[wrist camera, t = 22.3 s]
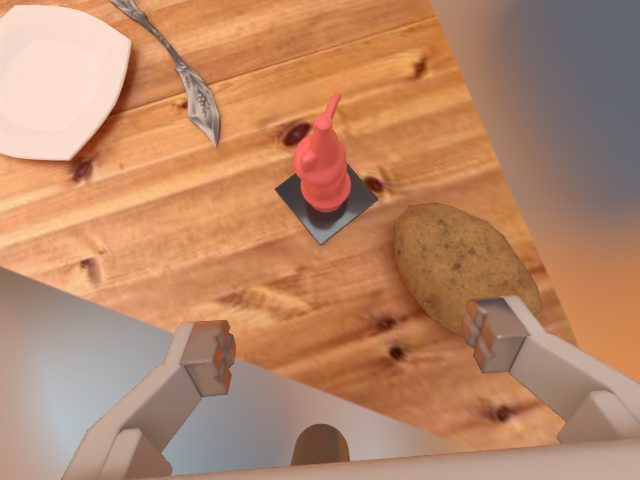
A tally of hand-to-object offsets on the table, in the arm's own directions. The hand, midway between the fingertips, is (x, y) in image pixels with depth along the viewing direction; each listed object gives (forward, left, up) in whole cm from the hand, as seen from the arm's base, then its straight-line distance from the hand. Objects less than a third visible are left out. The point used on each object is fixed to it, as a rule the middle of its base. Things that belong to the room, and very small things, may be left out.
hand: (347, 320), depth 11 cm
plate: (-10, +41, -22) cm, 47 cm away
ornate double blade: (+3, +38, -22) cm, 44 cm away
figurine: (+7, +10, -22) cm, 25 cm away
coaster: (+7, +10, -22) cm, 25 cm away
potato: (+11, -4, -22) cm, 25 cm away
